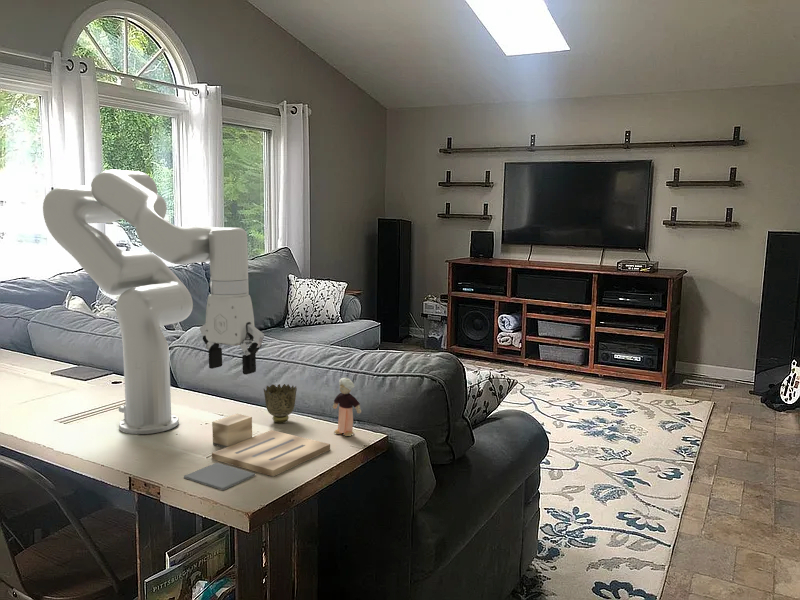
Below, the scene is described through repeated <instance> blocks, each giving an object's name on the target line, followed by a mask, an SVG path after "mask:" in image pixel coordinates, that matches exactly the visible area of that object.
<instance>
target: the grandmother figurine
mask: <svg viewBox="0 0 800 600" xmlns="http://www.w3.org/2000/svg"><path fill="white" fill-rule="evenodd" d="M338 381H339V382H338V385H339V393H338V394H337V395H336V397H335V398H334V400H333V404H332V409H334V410H335V409H337V408H338V419H337V420H338V421H337V422H338V423H337V429H335V430H334V431H333V434H334V433H336V434H340V435H342V436H343V435H345V436H351V435H352V434H354V435H355V432H354V431H353V427H354V414H353V407H354V408H355V410H356V413H357V414H361V413H362V409H361V405H360V404H361V403H360V402H359V400H358V399H357V398H356V397H355V396H353V395H352V394H351V391H352V390H353V389H354V388H355V384H354V382H353V381H352V380H351V379H350V378H349V377H342V378H340V379H339V380H338ZM341 433H344V434H341ZM336 434H335V435H336ZM345 436H344V437H345ZM352 436H353V435H352ZM352 436H351V437H352Z"/></svg>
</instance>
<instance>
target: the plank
mask: <svg viewBox="0 0 800 600" xmlns="http://www.w3.org/2000/svg"><path fill="white" fill-rule="evenodd" d="M330 450H331V444H330V443H327V442H323V441H318V440H314V439H311V438H307V437H302V436H297V435H294V434H290V433H285V432H282V431H277V430H272V429H271V430H267V431H266V432H262V433H260V434H257V435H254V436H252V438H250V439H247V440H244V441H242V442H239V443H237V444H234V445H232V446H229V447H226V448H224V447H223V448H221V449H219V450H216V451H214V452H211V460H214V461H218V462H222V463H224V464H227V465H232V466H234V467H238V468H239V467H240V468H243V469H246V470H250V471H253V472H255V473H256V472H257V473H260V474H263V475H267V476H270V477H275V476H277V475H280V474H282V473H284V472H285V471H288V470H290V469H292V468H295V467H296V466H299V465H301V464H302V463H305V462H307V461H309V460H311V459H314V458H316V457H318V456H320V455H322V454H324V453H327V452H329V451H330Z"/></svg>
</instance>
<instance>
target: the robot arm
mask: <svg viewBox="0 0 800 600" xmlns="http://www.w3.org/2000/svg"><path fill="white" fill-rule="evenodd" d="M90 184H91V185H65V186H59V187H56V188H54V189H52V190H50V191H49V192H48V193H46V195H45V198H44V199H43V203H42V214H43V220H44V222H45V226H46V228H47V230H48V231H49V233H50V234H51V236H52V237H53V239H54V240H55V241H56V242H57V243H58V244H59V245H60V246H61V247H62V248H63V249H65V251H66V252H67V253H69V255H71V257H72V258H74V260H75V261H77V263H78V265H80V267H81V268H82V269H83V270H84V271H85V272H86V273H87V275H88V276H89V277H90V278H91V280H93V281H94V282H95V284H96V285H97V286H98V287H99V288H100V289H101V290H102V291H103V292H104V293H106V294H108V295H110V296H111V295H112V296H119V297H118V298H117V301H116V304H115V312H116V317H117V321H118V325H119V329H120V335H121V342H122V354H123V355H122V358H123V378H124V379H123V380H124V397H125V402H124V404H123V405H120V406H119V407H118V412H120V413H123V415H124V416H123V419H121V420H120V421H119V422H118V429H119V431H121V432H123V433H126V434H131V435H150V434H152V435H153V434H156V433H157V434H158V433H163V432H167V431H169V430H172V429H174V428H176V427H177V426H178V425H179V417H178V416H177V415H175V414H172V399H171V397H172V395H171V373H170V372H171V371H170V370H171V369H170V350H169V349H170V348H169V344H168V341H167V339H166V337H165V335H164V333H163V331H162V329H161V328H162V327H163V326H168V325H173V324H177V323H181V322H184V320H186V319H188V317H189V316H190V315H191V313H192V311H193V308H194V305H193V304H194V301H193V298H192V294H191V293H190V291H189V289H188V288H187V286H186V285H185V284H184V283H183V282H182V280H180V278H179V277H178V276H177V275H176V274H175V273H174V272H173V271H172V270H171V269H170V267H168V265H167V264H166V263H165V262H164V261H166V262H169V263H171V264H174V265H186V264H195V263H208V262H209V278H210V282H209V287H210V294H208V296H207V302H206V309H205V310H206V311H205V323H204V324H203V325H201V326H200V327H199V332H200V334H201V336H202V340H203V342H204V344H205V348H206V350H208V351H207V353H208V368H209V369H210V370H211V369H217V368H221V367H222V366H223V349H222V347H220V346H221V345H225V346H233V347H234V346H235V347H236V346H237V347H238V346H239V348H241V351H242V352H243V353H244V354H242V356H241V360H242V373H243V375H250V374H253V373H254V374H255V373H256V371H257V362H256V360H257V359H256V358H257V357H256V354H258V353H259V350H260V348H261V347H262V345H263V344H262V343H263V340H264V339H265V334H264V332H262V331H261V330H259V329H258V328H257V327H256V326H255V316H254V308H253V303H252V302H253V301H252V298H251V295H250V294H249V291H250V290H249V257H248V254H249V253H248V234H247V232H246V230H245V229H244V228H241V227H216V226H211V225H198V226H197V225H190V226H189V225H188V226H184V225H183V226H177V225H175V224H173V223H171V222H169V221H168V220H167V219H165V217H166V214H167V202H166V201H165V198H163V197H162V196H161V195H159V194H158V188H157V187H158V186H157V184H156V182H155V181H154V179H153V178H152V177H151V176H150V175H148V174H147V173H145V172H143V171H135V170H123V169H122V170H121V169H108V170H104V171H101V172H100V173H98V174H96V175H95V176H94V177H93V179H92V180H91V183H90ZM120 220H124V221H125V222H126V223H128V224H130V225H131V226H133V227H134V228H135V231H136V234H137V237H138V239H139V241H140V242H141V244H142V245H143V246H144V247H145V248H146V249H147V250H148V251H144V250H135V251H133V250H132V251H127V250H122V249H120V248H119V247H117V245H115V243H114V242H113V241H112V240H111V239H110V238H109V237H108V236H107V235H106V234H105V233H104V232H102V231H100V230H99V229H97V228H95V227H94V226H92V225H90V224H108V223H114V222H117V221H120ZM149 251H150V252H149ZM163 260H164V261H163Z"/></svg>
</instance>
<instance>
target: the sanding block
mask: <svg viewBox="0 0 800 600" xmlns="http://www.w3.org/2000/svg"><path fill="white" fill-rule="evenodd" d="M211 423H212V424H211V426H212V427H211V428H212V446H217V447H220V448H223V449H224V448H226V447H229V446H232V445H234V444H237V443H239V442H242V441H244V440H247V439H250V438H252V437H253V416H249V415H246V414H241V413H234V414H232V415H229V416H226V417H223V418H220V419H217V420H214V421H212V422H211Z"/></svg>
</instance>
